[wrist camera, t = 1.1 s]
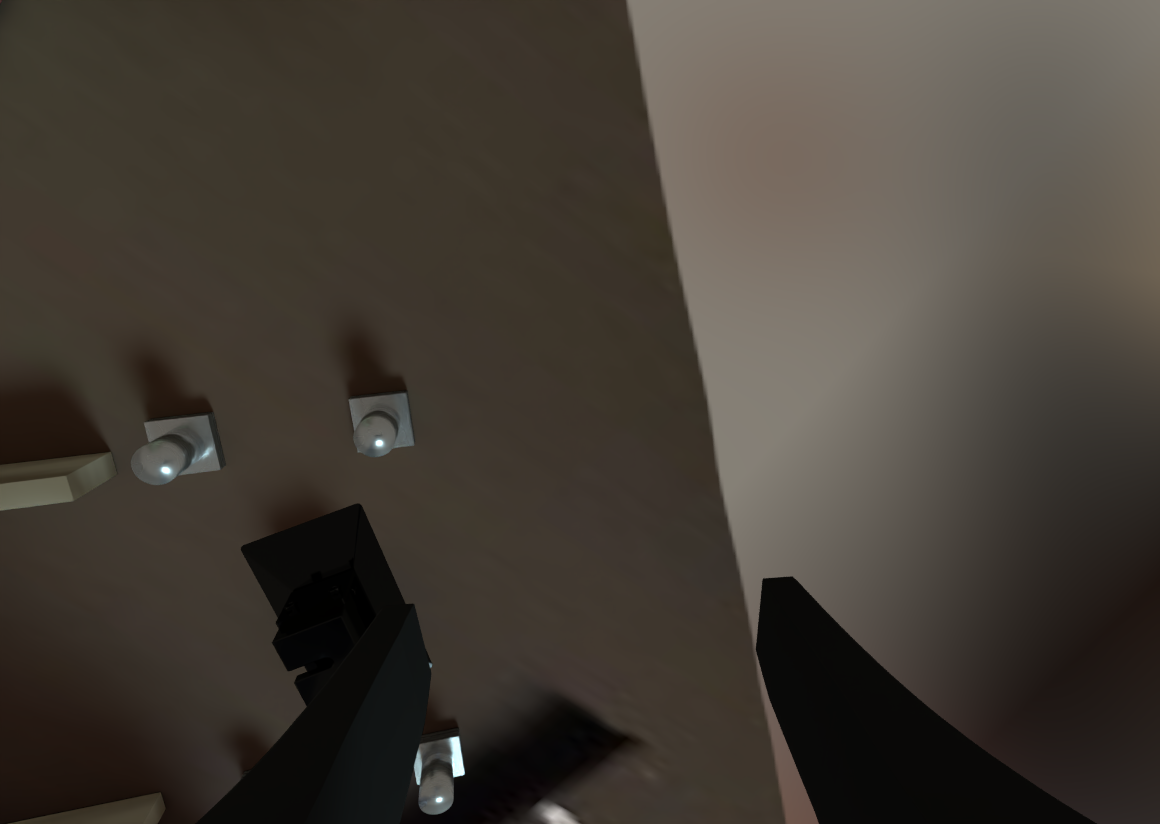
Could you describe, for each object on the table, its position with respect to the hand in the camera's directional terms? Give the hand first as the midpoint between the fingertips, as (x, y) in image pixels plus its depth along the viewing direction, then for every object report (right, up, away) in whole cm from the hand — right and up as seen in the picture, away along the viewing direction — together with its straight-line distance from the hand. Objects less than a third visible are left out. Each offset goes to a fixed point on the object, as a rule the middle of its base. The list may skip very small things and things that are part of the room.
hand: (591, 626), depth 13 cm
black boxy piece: (-12, -5, +17) cm, 21 cm away
